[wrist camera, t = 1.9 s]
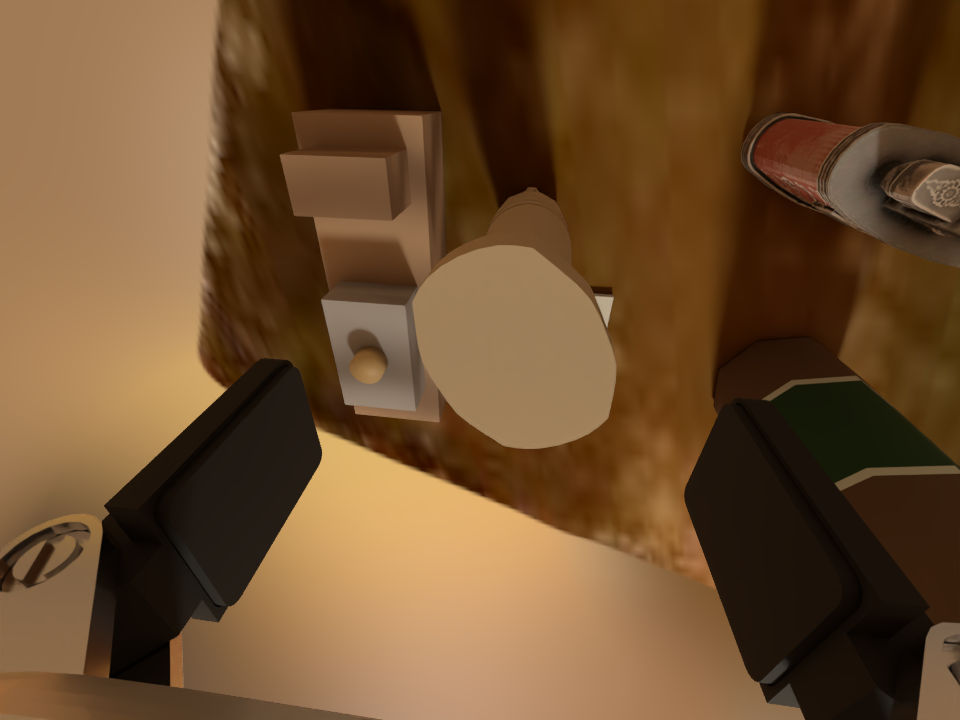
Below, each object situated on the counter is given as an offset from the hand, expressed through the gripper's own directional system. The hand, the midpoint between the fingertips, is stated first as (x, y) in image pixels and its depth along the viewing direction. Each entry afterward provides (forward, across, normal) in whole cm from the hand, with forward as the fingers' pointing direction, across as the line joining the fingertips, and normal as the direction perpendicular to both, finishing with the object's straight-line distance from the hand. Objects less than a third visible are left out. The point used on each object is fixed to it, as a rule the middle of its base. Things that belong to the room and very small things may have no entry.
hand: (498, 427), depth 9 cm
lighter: (+17, -14, -4) cm, 23 cm away
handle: (+17, 0, -1) cm, 17 cm away
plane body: (+17, +8, +3) cm, 19 cm away
